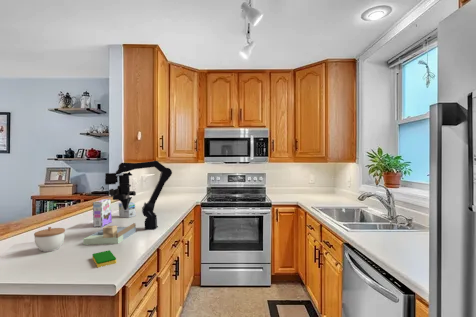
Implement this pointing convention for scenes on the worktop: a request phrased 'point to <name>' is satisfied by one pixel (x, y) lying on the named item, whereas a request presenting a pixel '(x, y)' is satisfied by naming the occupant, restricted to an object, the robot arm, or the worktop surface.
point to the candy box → (102, 212)
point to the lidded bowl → (49, 239)
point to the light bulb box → (129, 212)
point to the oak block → (109, 231)
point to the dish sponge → (104, 258)
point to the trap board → (120, 236)
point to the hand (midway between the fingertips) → (125, 209)
